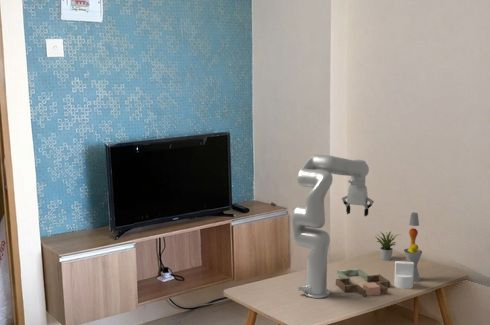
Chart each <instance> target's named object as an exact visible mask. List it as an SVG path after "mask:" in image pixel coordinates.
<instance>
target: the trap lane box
mask: <svg viewBox="0 0 490 325" xmlns="http://www.w3.org/2000/svg"><path fill="white" fill-rule="evenodd" d="M353 276H358V277H359V278H361V279H363V280H364V281H365V282H366V283H373V282H375V283H376V284H377V285H379V286H380V293H382V294H383V295H388V288H390V287H391V281H390V280H389V279H387V278H386V277H384V276H383V275H381V274H380V273H379V274H372V275H370V274H367V273H366V272H364V271H363V270H361V268H354V269H353V268H351V269H343V270H337V278H336V279H335V286H337V287H338V288H339V289H341V291H343V292H344V293H351V292H356V293H358V294H359V295H360V296H362V297H363V298H365V297H367V294H366V290H365V289H363V287H362V286H361V285H359V284H358V283H354V284H351V278H350V277H353Z"/></svg>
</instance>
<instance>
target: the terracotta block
mask: <svg viewBox="0 0 490 325" xmlns="http://www.w3.org/2000/svg"><path fill="white" fill-rule="evenodd" d="M362 286H363V287H362V288H363V289H365V290H366V295H368V296H377V295H380V294H381V291H380V286H379V285H377V284H376V283H375V282H373V283H368V282H366V283H362Z"/></svg>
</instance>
